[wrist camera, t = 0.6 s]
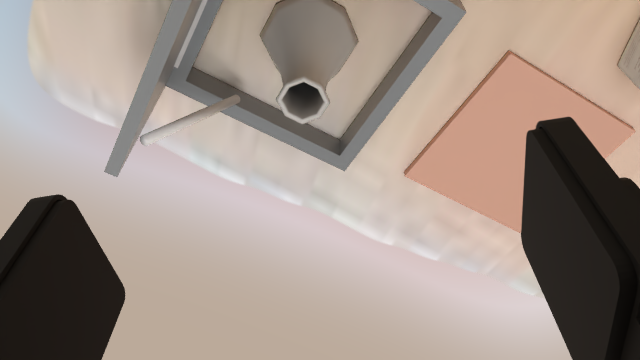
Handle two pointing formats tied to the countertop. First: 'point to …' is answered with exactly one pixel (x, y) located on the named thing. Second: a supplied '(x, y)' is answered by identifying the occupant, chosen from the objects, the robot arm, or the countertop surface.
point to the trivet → (505, 138)
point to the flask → (307, 53)
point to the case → (178, 74)
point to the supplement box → (632, 58)
